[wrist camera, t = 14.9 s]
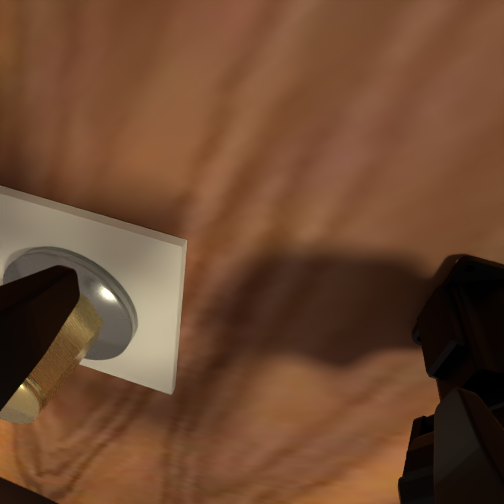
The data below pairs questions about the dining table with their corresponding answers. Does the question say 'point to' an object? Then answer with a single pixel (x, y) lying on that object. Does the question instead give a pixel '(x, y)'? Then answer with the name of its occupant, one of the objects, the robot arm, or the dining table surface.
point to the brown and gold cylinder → (55, 364)
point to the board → (119, 266)
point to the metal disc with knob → (87, 295)
